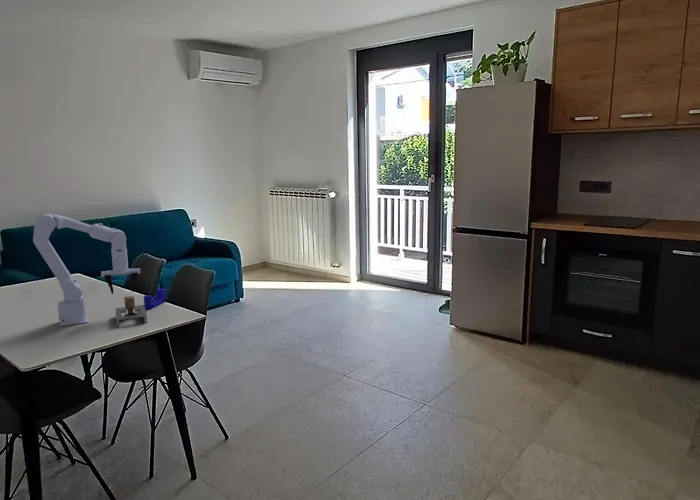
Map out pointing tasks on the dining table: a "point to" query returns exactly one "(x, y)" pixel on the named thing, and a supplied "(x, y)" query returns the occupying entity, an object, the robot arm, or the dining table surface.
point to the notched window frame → (136, 308)
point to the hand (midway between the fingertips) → (122, 292)
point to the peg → (129, 305)
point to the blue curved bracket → (155, 299)
